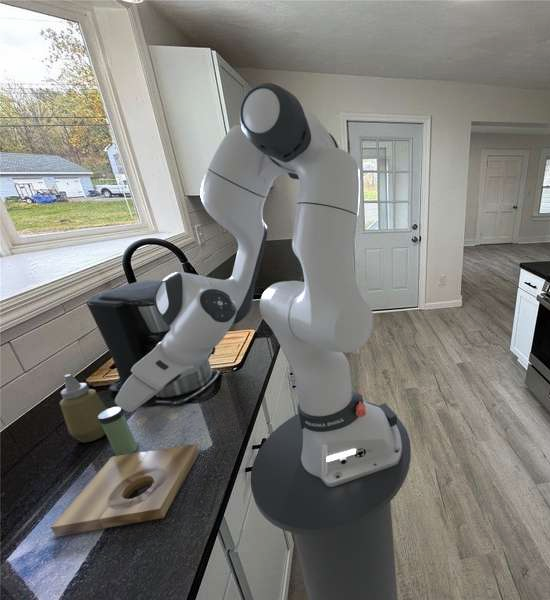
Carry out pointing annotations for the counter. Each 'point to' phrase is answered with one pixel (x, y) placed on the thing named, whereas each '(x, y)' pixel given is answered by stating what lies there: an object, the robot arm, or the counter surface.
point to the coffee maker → (142, 339)
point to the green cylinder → (117, 431)
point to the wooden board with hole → (128, 490)
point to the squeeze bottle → (81, 410)
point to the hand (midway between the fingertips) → (153, 391)
